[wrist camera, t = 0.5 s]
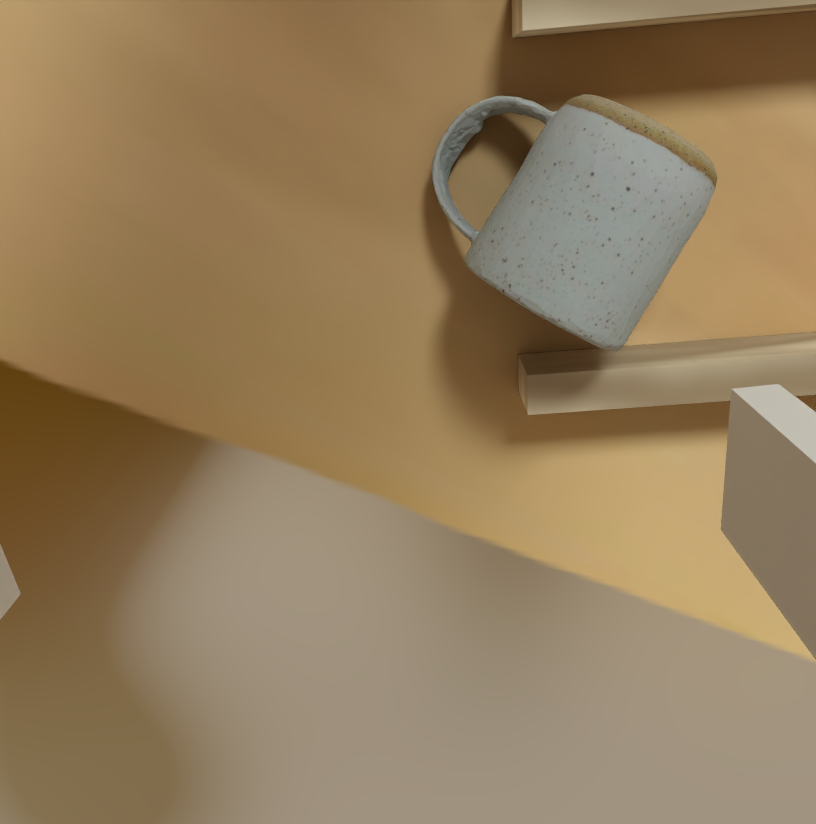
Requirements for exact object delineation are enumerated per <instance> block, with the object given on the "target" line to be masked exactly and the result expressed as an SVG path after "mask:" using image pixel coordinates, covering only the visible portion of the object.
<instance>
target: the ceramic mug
mask: <svg viewBox="0 0 816 824" xmlns="http://www.w3.org/2000/svg"><path fill="white" fill-rule="evenodd" d="M507 112H512V113H517V114H524V115H527V116H530V117H533V118H536V119H539V120H540V121H542V122H544V123H545V124H546V126H545V127H544V129H543V130H542V131H541V133H540V135H539V136H538V138H537V139H536V141H535V143H534V144H533V146H532V148H531V150H530V151H529V153H528V155H527V157H526V159H525V161H524V162H523V164H522V166H521V168H520V169H519V171H518V173H517V174H516V176H515V177H514V179H513V180H512V182H511V184H510V185H509V187H508V188H507V190H506V191H505V193H504V194H503V196H502V198H501V199H500V201H499V202H498V204H497V206H496V207H495V209H494V210H493V212H492V213H491V215H490V216H489V218H488V219H487V221H486V223H485V225H484V227H483V229H482V230H481V231H477V230H475V229H474V228H473V227H472V226H471V225H470V224H469V223H468V222H467V221H466V220H465V219H464V217H463V216H462V215H461V214H460V212H459V211H458V209H457V208H456V206H455V204H454V202H453V200H452V197H451V195H450V192H449V187H448V178H449V175H450V169H451V167H452V165H453V164H454V162H455V161H456V159H457V158H458V156H459V155H460V153H461V152H462V150H463V148H464V147H465V145H466V144H467V143H468V141H469V140H470V139H471V138H472V137H473V135H474V134H476V133H478V132H480V131H481V129H482V127H483V121H484V120H485V119H486V118H488V117H490V116H492V115H497V114H503V113H507ZM432 180H433V185H434V189H435V193H436V196H437V199H438V201H439V204H440V206H441V208H442V210H443V211H444V213H445V214H446V216H447V217H448V219H449V220H450V221H451V223H452V224H453V225H454V226H455V227H456V228H457V229H458V230H459V231H460V232H461V233H462V234H463V235H464V236H466V237H467V238H468V239H469V240H470V241H471V247H470V249H469V251H468V252H467V254H466V257H465V264H466V265H467V267H468V268H469V269H471V271H472V272H473V273H474V274H476V275H477V276H478V277H480V278H481V279H482V280H483V281H485V282H486V283H488V284H490V285H491V286H492V287H494V288H495V289H497V290H498V291H500V292H501V293H502V294H504V295H506V296H507V297H509V298H511V299H512V300H514V301H515V302H517V303H518V304H520V305H521V306H523V307H525V308H527V309H528V310H530V311H531V312H533V313H534V314H536V315H538V316H540V317H542V318H544V319H545V320H547V321H549V322H551V323H553V324H555V325H556V326H558V327H560V328H563V329H564V330H565V331H568V332H570V333H572V334H574V335H576V336H578V337H580V338H582V339H583V340H585V341H587V342H589V343H591V344H593V345H595V346H597V347H600V348H602V349H606V350H611V351H618V350H620V349H621V348H622V347H623V346H624V344H625V343H626V341H627V339H628V338H629V336H630V334H631V332H632V331H633V329H634V328H635V326H636V324H637V323H638V321H639V319H640V317H641V316H642V314H643V313H644V311H645V309H646V308H647V306H648V305H649V303H650V301H651V300H652V298H653V297H654V295H655V293H656V292H657V290H658V288H659V287H660V285H661V284H662V282H663V280H664V279H665V277H666V276H667V274H668V272H669V270H670V268H671V267H672V265H673V264H674V262H675V261H676V259H677V257H678V256H679V254H680V252H681V250H682V249H683V247H684V245H685V244H686V242H687V241H688V240H689V238H690V237H691V235H692V233H693V232H694V230H695V229H696V227H697V225H698V224H699V222H700V220H701V219H702V217H703V215H704V213H705V211H706V209H707V207H708V204H709V202H710V199H711V197H712V195H713V192H714V190H715V187H716V182H717V174H716V170H715V168H714V165H713V163H712V161H711V160H710V159H709V158H708V157H707V156H706V155H705V154H704V153H703V152H702V151H701V150H700V149H699V148H697V147H696V146H695V145H693V144H692V143H690V142H689V141H687V140H686V139H685V138H683V137H682V136H680V135H679V134H677V133H676V132H674V131H673V130H671V129H669V128H668V127H666V126H664V125H662V124H660V123H659V122H657V121H655V120H653V119H651V118H649V117H647V116H645V115H643V114H641V113H639V112H637V111H635V110H633V109H631V108H629V107H626V106H624V105H622V104H619V103H617V102H615V101H612V100H609V99H606V98H604V97H600V96H596V95H589V94H583V95H580V96H577V97H574V98H571V99H569V100H568V101H566V102H565V103H564V104H563V106H562V107H561V108H560V109H559V110H558V111H554V112H551V111H549V110H548V109H546V108H545V107H543V106H541V105H539V104H537V103H536V102H534V101H530V100H525V99H523V98H520V97H511V96H495V97H492V98H488V99H485V100H482V101H480V102H478V103H476V104H474V105H472V106H470V107H468V108H467V109H466V110H464V111H463V112H462V113H461V114H460V115H459V116H458V117H457V118H456V119H455V120H454V121H453V122H452V124H451V125H450V126H449V128H448V129H447V131H446V133H445V134H444V136H443V137H442V139H441V141H440V142H439V145H438V148H437V150H436V153H435V155H434V158H433V165H432Z"/></svg>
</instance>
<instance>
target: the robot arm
mask: <svg viewBox="0 0 816 824" xmlns="http://www.w3.org/2000/svg"><path fill="white" fill-rule="evenodd" d="M721 530H722V532H723V533H724V535H725V536H726V537H727V539H728V540H729V541H730V543H731V544H732V546H733V547H734V548H735V550H736V551H737V552H738V554H739V555H740V557H741V558H742V559H743V561H744V562H745V563H746V565H747V566H748V568H749V569H750V570H751V572H752V573H753V574H754V576H755V577H756V578H757V580H758V581H759V583H760V584H761V585H762V587H763V588H764V589H765V591H766V592H767V594H768V595H769V596H770V598H771V599H772V600H773V602H774V603H775V605H776V606H777V607H778V609H779V610H780V611H781V613H782V614H783V615H784V617H785V618H786V620H787V621H788V622H789V624H790V625H791V626H792V628H793V629H794V631H795V632H796V633H797V635H798V636H799V637H800V639H801V640H802V642H803V643H804V644H805V646H806V647H807V648H808V650H809V651H810V653H811V654H812V655H813V657H814V658H815V659H816V412H815V411H814V410H812V409H811V408H810V407H808V406H807V405H806V404H804V403H803V402H802V401H800V400H799V399H798V398H797V397H795V396H794V395H793V394H791V393H790V392H789V391H787V390H786V389H785V388H783V387H782V386H781V385H779V384H773V385H763V386H753V387H743V388H734V389H731V400H730V413H729V426H728V439H727V453H726V466H725V479H724V493H723V506H722V519H721ZM20 594H21V593H20V591H19V588H18V586H17V583H16V581H15V579H14V576H13V574H12V571H11V569H10V566H9V564H8V562H7V559H6V557H5V554H4V552H3V550H2V547H1V545H0V619H1V618H2V617H3V616H4V614H5V613H6V612H7V610H8V609H9V608H10V607H11V606H12V604H13V603H14V602H15V601H16V599H17V598H18V597H19V595H20Z"/></svg>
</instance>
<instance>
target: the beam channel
mask: <svg viewBox="0 0 816 824" xmlns="http://www.w3.org/2000/svg"><path fill="white" fill-rule="evenodd" d="M511 3H512V38H516V37H527V36H538V35H549V34H560V33H571V32H582V31H593V30H604V29H615V28H626V27H637V26H648V25H659V24H670V23H681V22H692V21H703V20H714V19H725V18H736V17H747V16H758V15H769V14H780V13H791V12H802V11H813V10H816V0H511ZM518 376H519V393H520V396H521V399H522V401H523V404H524V407H525V409H526V412H527V415H537V414H551V413H565V412H579V411H593V410H607V409H621V408H635V407H650V406H664V405H678V404H692V403H706V402H720V401H730V400H731V389H734V388H743V387H753V386H763V385H773V384H779V385H781V386H782V387H783V388H785V389H786V390H787V391H789V392H790V393H791V394H793V395H794V396H805V395H816V332H812V333H798V334H785V335H771V336H758V337H744V338H731V339H717V340H704V341H690V342H677V343H663V344H650V345H636V346H623V347H622V348H621V349H620V350H618V351H611V350H606V349H602V348H596V349H583V350H569V351H556V352H542V353H529V354H518Z"/></svg>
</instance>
